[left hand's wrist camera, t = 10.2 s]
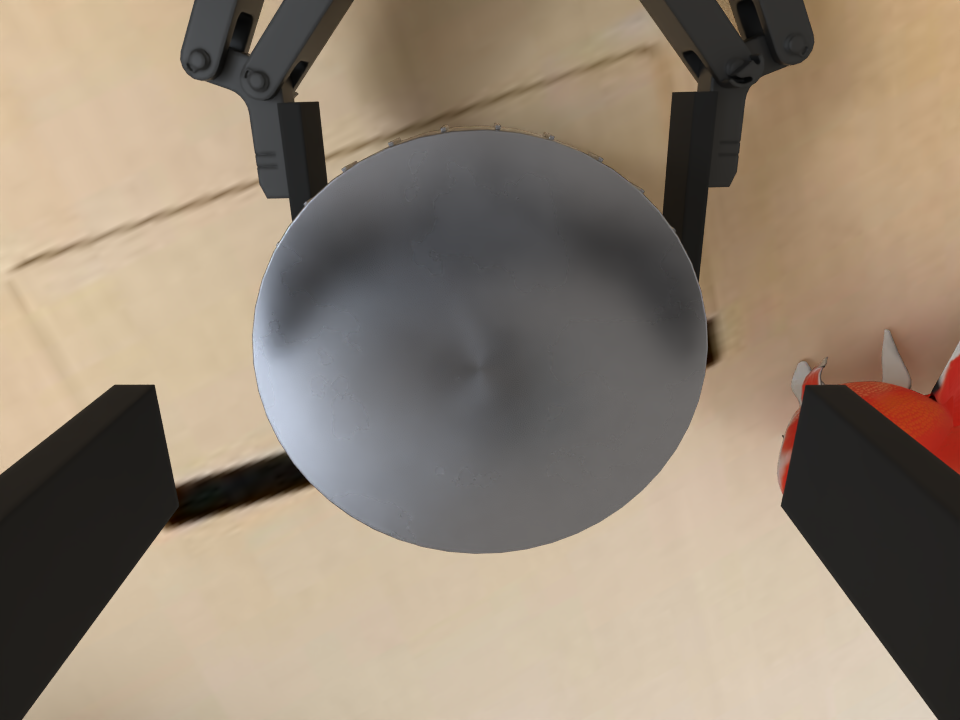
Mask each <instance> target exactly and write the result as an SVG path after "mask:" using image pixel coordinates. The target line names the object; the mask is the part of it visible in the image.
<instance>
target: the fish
mask: <svg viewBox="0 0 960 720" xmlns="http://www.w3.org/2000/svg"><path fill="white" fill-rule="evenodd" d="M827 358H828V357H826V358H824V359H823V360H822V361H821V362H820V363H819V364H818V365H817V366H816V367H815V368H814V369H813V370H811V368H810V366H809V365H808V363H807V362H805V361H802V362H799V363H798V365H797V367H796V370H795V372H794V375H793V379H792V384H791V387H792V391H793V393H794V394H795V396H796V397H797V398H798V401H799V404H800V408H799V409H798V410H797V411H796V413H795V414H794V416H793V417H792V419H791V421H790V423H789V424H788V427H787V430H786V432H785V435H784V436H783V435H782V437H783V442H782V446H781V450H780V455H779V460H778V468H777V476H778V483H779V486H780V489H781V491H782V494H783V493H784V488H785V483H786V478H787V473H788V468H789V463H790V459H791V454H792V449H793V444H794V439H795V434H796V429H797V424H798V419H799V414H800V409H801V404H802V400H803V395H804V390H805V385H825V384H824V383H823V382H822V381H821V372H822V369H823V367H825V365H826V364H827ZM882 372H883V379H882V382H852V383H843V384H839V385H846V386H848V387H849V388H850V389H851V390H853V391H854V392H855V393H856V394H858V395H859V396H860V397H862V398H863V399H864V400H865V401H867V402H868V403H869V404H870V405H872V406H873V407H874V408H875V409H877V410H878V411H879V412H881V413H882V414H883V415H884V416H886V417H887V418H888V419H889V420H891V421H892V422H893V423H895V424H896V425H897V426H898V427H900V428H901V429H902V430H903V431H905V432H906V433H907V434H909V435H910V436H911V437H912V438H914V439H915V440H916V441H917V442H919V443H920V444H921V445H922V446H924V447H925V448H926V449H928V450H929V451H930V452H931V453H933V454H934V455H935V456H936V457H938V458H939V459H940V460H942V461H943V462H944V463H945V464H947V465H948V466H949V467H950V468H952V469H953V470H954V471H956V472H957V473H958V474H959V475H960V342H959V343H958V345H957V347H956V349H955V351H954V352H953V354H952V356H951V358H950V360H949V361H948V363H947V365H946V367H945V369H944V370H943V372H942V374H941V376H940V377H939V379H938V381H937V383H936V384H935V386H934V388H933V390H932V392H931V394H928V395H922V394H920V393H917V392H915V391H913V390H910V388H911V378H910V375H909V373H908V370H907V368H906V366H905V365H904V363H903V361H902V359H901V356H900V354H899V352H898V350H897V348H896V345H895V343H894V340H893V338H892V335H891V333H890V331H889V330H887V329H885V331H884V340H883V348H882Z"/></svg>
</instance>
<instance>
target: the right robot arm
mask: <svg viewBox="0 0 960 720" xmlns="http://www.w3.org/2000/svg"><path fill="white" fill-rule="evenodd" d="M353 1H354V0H284V1H283V2H282V4H281V5H280V7H279V9H278V10H277V12H276V14H275V15H274V17H273V18H272V20H271V22H270V23H269V25H268V27H267V28H266V30H265V32H264V33H263V35H262V36H261V38H260V40H259V41H258V43H257V45H256V46H255V48H254V50H253V51H252V53H251V54H248V52H249V49H250V45H251V42H252V39H253V35H254V32H255V29H256V26H257V22H258V19H259V16H260V12H261V9H262V6H263V3H264V0H195V1H194V5H193V8H192V12H191V16H190V20H189V23H188V27H187V31H186V34H185V38H184V42H183V45H182V49H181V57H180V60H181V63H182V67H183V68H184V70H185V71H186V73H187V74H188V75H189V76H191V77H192V78H194V79H197V80H201V81H207V82H209V83H212V84H215V85H218V86H221V87H224V88H227V89H230V90H232V91H234V92H236V93H237V94H238V95H239V96H241V98H242V99H243V100H244V101H245V103H246V105H247V107H248V111H249V115H250V122H251V129H252V136H253V143H254V149H255V154H256V163H257V167H258V168H257V170H258V177H259V184H260V186H261V188H262V190H263V191H264V193H265V195H266V197H267V199H269V198H289V200H290V208H291V215H292V221H293V220H294V219H295V218H296V217H297V215H298V214H299V213H300V212H301V210H302V209H303V208H304V207H305V205H304V203H305V202H306V201H308V200H309V199H311V198H313V197H314V196H315V195H316V194H317V193H319V192H320V191H321V190H322V189H323V188H324V187H325V186H326V185H327V184H328V183H327V174H326V165H325V155H324V146H323V137H322V128H321V118H320V109H319V102H294V98H295V97H296V96H297V95H298V93H297V92H295V90H296V89H297V87H298V86H299V84H300V83H301V81H302V80H303V78H304V76H305V75H306V73H307V72H308V70H309V69H310V67H311V66H312V64H313V63H314V61H315V60H316V58H317V56H318V55H319V53H320V52H321V50H322V49H323V47H324V46H325V44H326V43H327V41H328V39H329V38H330V36H331V35H332V33H333V32H334V30H335V29H336V27H337V26H338V24H339V22H340V21H341V19H342V18H343V16H344V15H345V13H346V12H347V10H348V9H349V7H350V5H351V4H352V2H353ZM640 2H641V3H642V5H643V6H644V7H645V9H646V10H647V12H648V13H649V14H650V16H651V17H652V19H653V20H654V22H655V23H656V24H657V26H658V27H659V29H660V30H661V31H662V33H663V34H664V36H665V37H666V39H667V40H668V41H669V43H670V44H671V46H672V47H673V48H674V50H675V51H676V53H677V54H678V56H679V57H680V58H681V60H682V61H683V63H684V64H685V66H686V67H687V68H688V70H689V71H690V73H691V74H692V75H693V77H694V78H695V80H696V81H697V83H698V90H697V92H672V104H671V116H670V129H669V141H668V154H667V167H666V179H665V192H664V205H663V216H664V218H665V219H666V220H667V222H668V223H669V225H670V226H672V227H673V228H674V229H675V231H676V232H675V233H676V234H677V236H678V237H679V239H680V241H681V243H682V245H683V247H684V249H685V251H686V253H687V255H688V257H689V259H690V261H691V263H692V265H693V268H694V271H695V274H696V277H697V280H698V283H699V274H700V264H701V254H702V245H703V235H704V225H705V216H706V206H707V196H708V187H729V186H730V184H731V182H732V180H733V178H734V176H735V174H736V172H737V165H738V157H739V156H738V153H739V149H740V140H741V132H742V123H743V115H744V106H745V99H746V95H747V92H748V90H749V88H750V87H751V85H753V84H754V83H756V82H757V81H758V79H759V78H760V77H762V76H764V75H766V74H769V73H771V72H774V71H776V70H779V69H781V68H784V67H786V66H789V65H795V64H798V63H801V62H802V61H804V60H805V59H806V58H807V57H808V56H809V54H810V53H811V51H812V49H813V45H814V35H813V32H812V28H811V25H810V22H809V18H808V15H807V12H806V9H805V5H804V2H803V0H729V3H730V6H731V9H732V12H733V15H734V18H735V21H736V23H737V26H738V29H739V32H740V35H741V37H740V35H739V34H738V32H737V31H736V29H735V28H734V26H733V25H732V23H731V22H730V20H729V19H728V17H727V16H726V14H725V13H724V11H723V10H722V8H721V7H720V5H719V4H718V2H717V1H716V0H640Z"/></svg>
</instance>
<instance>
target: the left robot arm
mask: <svg viewBox="0 0 960 720" xmlns="http://www.w3.org/2000/svg"><path fill="white" fill-rule="evenodd" d="M178 507H179V503H178V498H177V493H176V488H175V483H174V478H173V473H172V468H171V463H170V459H169V454H168V449H167V444H166V439H165V434H164V429H163V424H162V419H161V414H160V409H159V404H158V400H157V395H156V390H155V385H114V386H112V387H111V388H110V389H109V390H107V391H106V392H105V393H104V394H102V395H101V396H100V397H98V398H97V399H96V400H95V401H93V402H92V403H91V404H90V405H88V406H87V407H86V408H85V409H83V410H82V411H81V412H79V413H78V414H77V415H76V416H74V417H73V418H72V419H71V420H69V421H68V422H67V423H65V424H64V425H63V426H62V427H60V428H59V429H58V430H57V431H55V432H54V433H53V434H51V435H50V436H49V437H48V438H46V439H45V440H44V441H43V442H41V443H40V444H39V445H38V446H36V447H35V448H34V449H32V450H31V451H30V452H29V453H27V454H26V455H25V456H24V457H22V458H21V459H20V460H18V461H17V462H16V463H15V464H13V465H12V466H11V467H10V468H8V469H7V470H6V471H4V472H3V473H2V474H1V475H0V720H22V719H23V717H24V716H25V715H26V713H27V712H28V711H29V709H30V708H31V707H32V705H33V704H34V703H35V701H36V700H37V698H38V697H39V696H40V694H41V693H42V692H43V690H44V689H45V688H46V686H47V685H48V683H49V682H50V681H51V679H52V678H53V677H54V675H55V674H56V673H57V671H58V670H59V669H60V667H61V666H62V664H63V663H64V662H65V660H66V659H67V658H68V656H69V655H70V654H71V652H72V651H73V650H74V648H75V647H76V645H77V644H78V643H79V641H80V640H81V639H82V637H83V636H84V635H85V633H86V632H87V630H88V629H89V628H90V626H91V625H92V624H93V622H94V621H95V620H96V618H97V617H98V616H99V614H100V613H101V611H102V610H103V609H104V607H105V606H106V605H107V603H108V602H109V601H110V599H111V598H112V597H113V595H114V594H115V592H116V591H117V590H118V588H119V587H120V586H121V584H122V583H123V582H124V580H125V579H126V578H127V576H128V575H129V573H130V572H131V571H132V569H133V568H134V567H135V565H136V564H137V563H138V561H139V560H140V558H141V557H142V556H143V554H144V553H145V552H146V550H147V549H148V548H149V546H150V545H151V544H152V542H153V541H154V539H155V538H156V537H157V535H158V534H159V533H160V531H161V530H162V529H163V527H164V526H165V525H166V523H167V522H168V520H169V519H170V518H171V516H172V515H173V514H174V512H175V511H176V510H177V508H178ZM781 507H782V508H783V510H784V511H785V512H786V514H787V515H788V516H789V518H790V519H791V520H792V522H793V523H794V525H795V526H796V527H797V529H798V530H799V531H800V533H801V534H802V535H803V537H804V538H805V539H806V541H807V542H808V544H809V545H810V546H811V548H812V549H813V550H814V552H815V553H816V554H817V556H818V557H819V558H820V560H821V561H822V563H823V564H824V565H825V567H826V568H827V569H828V571H829V572H830V573H831V575H832V576H833V578H834V579H835V580H836V582H837V583H838V584H839V586H840V587H841V588H842V590H843V591H844V592H845V594H846V595H847V597H848V598H849V599H850V601H851V602H852V603H853V605H854V606H855V607H856V609H857V610H858V611H859V613H860V614H861V616H862V617H863V618H864V620H865V621H866V622H867V624H868V625H869V626H870V628H871V629H872V630H873V632H874V633H875V635H876V636H877V637H878V639H879V640H880V641H881V643H882V644H883V645H884V647H885V648H886V650H887V651H888V652H889V654H890V655H891V656H892V658H893V659H894V660H895V662H896V663H897V664H898V666H899V667H900V669H901V670H902V671H903V673H904V674H905V675H906V677H907V678H908V679H909V681H910V682H911V683H912V685H913V686H914V688H915V689H916V690H917V692H918V693H919V694H920V696H921V697H922V698H923V700H924V701H925V703H926V704H927V705H928V707H929V708H930V709H931V711H932V712H933V713H934V715H935V716H936V717H937V719H938V720H960V475H959V474H958V473H957V472H956V471H954V470H953V469H952V468H950V467H949V466H948V465H947V464H945V463H944V462H943V461H942V460H940V459H939V458H938V457H936V456H935V455H934V454H933V453H931V452H930V451H929V450H928V449H926V448H925V447H924V446H922V445H921V444H920V443H919V442H917V441H916V440H915V439H914V438H912V437H911V436H910V435H909V434H907V433H906V432H905V431H903V430H902V429H901V428H900V427H898V426H897V425H896V424H895V423H893V422H892V421H891V420H889V419H888V418H887V417H886V416H884V415H883V414H882V413H881V412H879V411H878V410H877V409H875V408H874V407H873V406H872V405H870V404H869V403H868V402H867V401H865V400H864V399H863V398H862V397H860V396H859V395H858V394H856V393H855V392H854V391H853V390H851V389H850V388H849V387H848V386H846V385H805V390H804V395H803V400H802V404H801V409H800V414H799V419H798V424H797V429H796V434H795V439H794V444H793V449H792V454H791V459H790V463H789V468H788V473H787V478H786V483H785V488H784V493H783V498H782V503H781Z"/></svg>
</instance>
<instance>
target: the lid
mask: <svg viewBox="0 0 960 720" xmlns="http://www.w3.org/2000/svg"><path fill="white" fill-rule="evenodd" d="M388 144H389V147H387V148H385V149H383V150H381V151H379V152H377V153H375V154H373V155H371V156H369V157H367V158H365V159H363V160H361V161H359V162H357V161H355V162H353V163H351V164H349V165H347V166H345V167H344V168H342V171H343V173H342V174H340V175H339V176H337V177H336V178H334V179H333V180H332V181H331V182H329V183H328V184H327V185H326V186H325V187H324V188H323V189H322V190H321V191H320V192H319V193H317V194H316V195H315V196H314V197H313V198H311V199H309V200H308V201H306V202H305V203H304V205H305V207H304V208H303V209H302V210H301V212H300V213H299V214H298V215H297V217H296V218H295V219H294V220H293V221H292V223H291V224H290V225H289V227H288V228H287V230H286V232H285V233H284V235H283V237H282V238H281V240H280V241H279V242H278V243H277V245H276V246H277V247H276V248H275V250H274V252H273V254H272V257H271V259H270V261H269V264H268V266H267V269H266V271H265V274H264V276H263V278H262V282H261V286H260V290H259V294H258V298H257V302H256V306H255V314H254V323H253V333H252V341H253V364H254V369H255V375H256V380H257V386H258V391H259V394H260V397H261V400H262V403H263V406H264V409H265V412H266V415H267V418H268V420H269V422H270V424H271V426H272V428H273V430H274V432H275V434H276V436H277V438H278V441H279V442H280V444H281V445H282V447H283V448H284V450H285V451H286V453H287V454H288V456H289V457H290V459H291V460H292V462H293V463H294V464H295V466H296V467H297V468H298V469H299V470H300V472H301V473H302V474H303V475H304V476H305V477H306V479H307V480H308V481H309V482H310V483H311V484H312V485H313V486H314V487H315V488H316V489H317V490H318V491H319V492H320V493H322V494H323V495H324V496H325V497H326V498H327V499H328V500H329V501H330V502H332V503H333V504H335V505H336V506H337V507H339V508H340V509H341V510H343V511H344V512H346V513H347V514H348V515H350V516H351V517H353V518H355V519H357V520H358V521H360V522H362V523H364V524H365V525H367V526H369V527H371V528H372V529H374V530H377V531H379V532H382V533H384V534H386V535H389V536H391V537H393V538H396V539H398V540H401V541H405V542H408V543H411V544H415V545H418V546H421V547H426V548H431V549H437V550H442V551H448V552H460V553H473V554H479V553H503V552H510V551H517V550H524V549H529V548H533V547H537V546H541V545H545V544H549V543H553V542H556V541H558V540H561V539H564V538H566V537H569V536H572V535H574V534H577V533H579V532H581V531H583V530H585V529H587V528H589V527H591V526H593V525H595V524H597V523H599V522H601V521H602V520H604V519H605V518H607V517H608V516H610V515H611V514H613V513H614V512H616V511H617V510H619V509H620V508H622V507H623V506H624V505H626V504H627V503H628V502H629V501H630V500H632V499H633V498H634V497H635V496H636V495H637V494H639V493H640V492H641V491H642V490H643V489H644V488H645V487H646V486H647V485H648V484H649V483H650V482H651V481H652V480H653V478H654V477H655V476H656V475H657V474H658V473H659V472H660V471H661V470H662V468H663V467H664V465H665V464H666V463H667V461H668V460H669V459H670V457H671V456H672V455H673V453H674V452H675V450H676V449H677V447H678V445H679V443H680V441H681V440H682V438H683V436H684V434H685V432H686V431H687V429H688V427H689V425H690V422H691V419H692V417H693V414H694V412H695V409H696V407H697V404H698V401H699V397H700V393H701V389H702V385H703V381H704V377H705V370H706V360H707V349H708V341H707V318H706V313H705V308H704V303H703V297H702V292H701V288H700V286H699V283H698V280H697V277H696V274H695V271H694V268H693V265H692V263H691V261H690V259H689V257H688V255H687V253H686V251H685V249H684V247H683V245H682V243H681V241H680V239H679V237H678V236H677V234H676V233H675V232H676V231H675V229H674V228H673V227H672V226H670V225H669V223H668V222H667V220H666V219H665V218H664V216H663V215H662V213H661V212H660V211H659V210H658V209H657V208H656V207H655V206H654V205H653V204H652V203H651V202H650V200H649V199H648V198H647V197H646V196H645V195H644V194H643V193H644V192H645V191H644V190H643V189H641V188H640V187H638V186H636V185H634V184H633V183H631V182H629V181H628V180H626V179H625V178H624V177H622V176H621V175H620V174H619V173H617V172H616V171H615V170H613V169H612V168H610V167H608V166H607V165H605V164H603V163H601V162H602V161H603V158H601V157H599V156H597V155H595V154H593V153H591V152H589V153H588V155H587V154H585V153H584V152H582V151H580V150H578V149H576V148H574V147H572V146H570V145H567V144H565V143H562V142H560V141H557V140H555V139H554V136H552V135H551V134H549V133H546V132H544V134H543V135H540V134H536V133H532V132H528V131H524V130H519V129H514V128H504V127H501V126H500V124H499V123H494V126H468V127H453V128H449V126H448V125H444V126H443V127H441V130H437V131H431V132H426V133H423V134H420V135H417V136H414V137H411V138H408V139H405V140H402V141H401V139H400V138H397V139H395V140H393V141H391V142H389V143H388Z"/></svg>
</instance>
